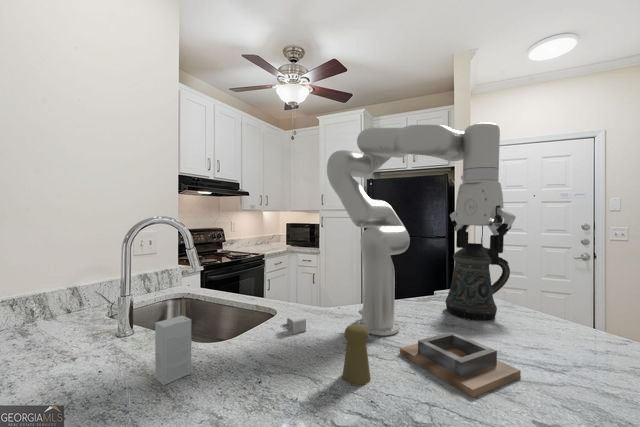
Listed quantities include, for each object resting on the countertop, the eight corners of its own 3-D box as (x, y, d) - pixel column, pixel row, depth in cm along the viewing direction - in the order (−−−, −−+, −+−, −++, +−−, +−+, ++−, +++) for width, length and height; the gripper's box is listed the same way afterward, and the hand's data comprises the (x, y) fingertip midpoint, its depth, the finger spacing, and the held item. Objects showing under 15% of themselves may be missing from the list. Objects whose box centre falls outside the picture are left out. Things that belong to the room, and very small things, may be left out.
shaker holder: (399, 353, 75) (400, 336, 75) (443, 341, 82) (444, 325, 82) (472, 397, 57) (473, 374, 57) (520, 377, 64) (520, 356, 65)
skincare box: (182, 367, 67) (183, 314, 67) (191, 374, 65) (192, 319, 65) (153, 378, 63) (154, 322, 63) (162, 386, 60) (163, 327, 60)
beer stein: (436, 307, 113) (436, 241, 113) (481, 304, 117) (481, 241, 117) (465, 322, 97) (465, 246, 97) (516, 319, 100) (516, 245, 100)
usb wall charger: (306, 332, 88) (306, 318, 88) (284, 336, 85) (285, 322, 85) (299, 327, 92) (299, 314, 92) (279, 332, 88) (279, 318, 88)
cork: (370, 387, 60) (370, 332, 60) (340, 383, 62) (341, 330, 62) (371, 371, 66) (371, 322, 66) (344, 368, 67) (344, 320, 67)
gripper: (441, 180, 77) (439, 246, 77) (501, 172, 61) (499, 256, 61) (463, 181, 79) (462, 245, 80) (527, 174, 63) (525, 255, 63)
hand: (478, 250), depth 70 cm, fingers open, 9 cm apart
